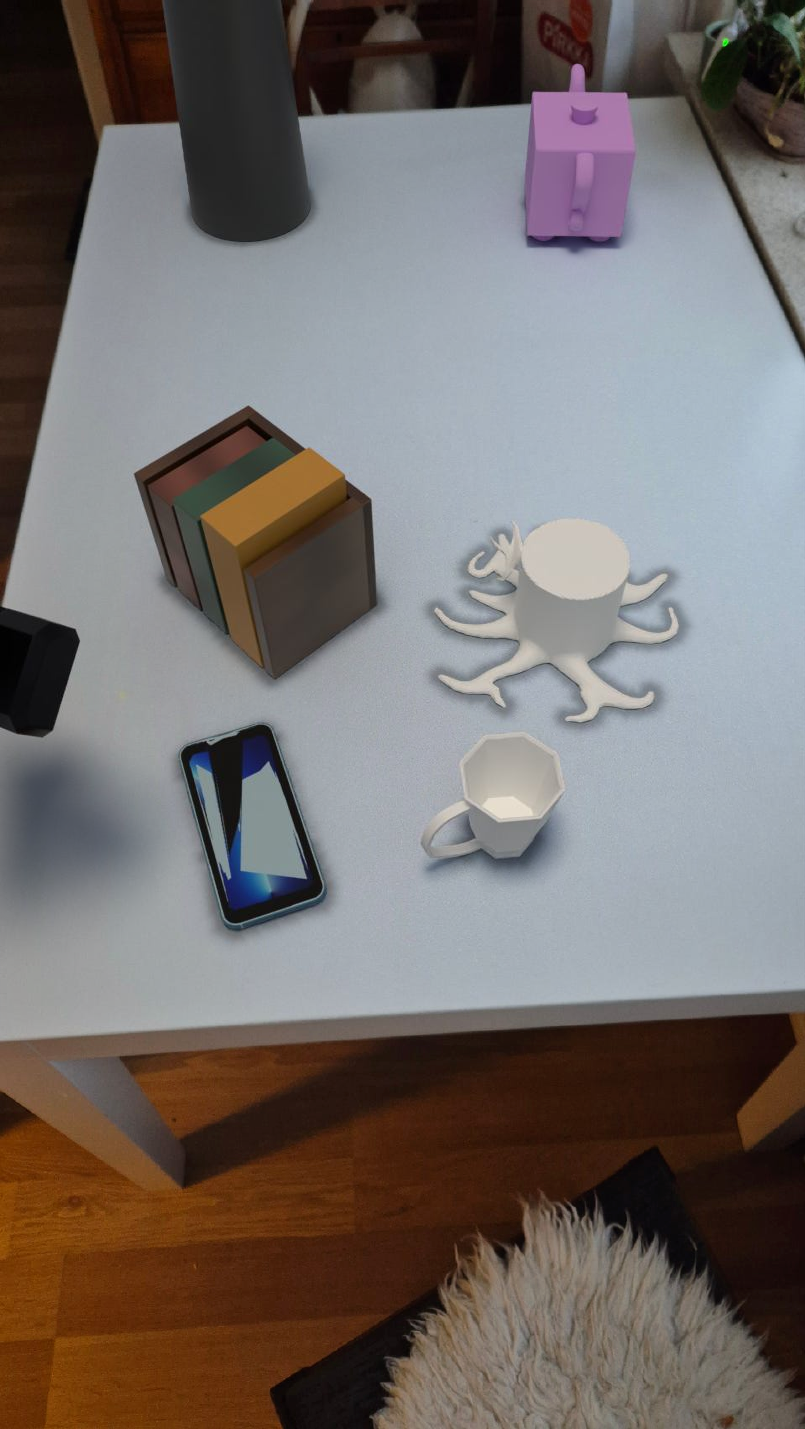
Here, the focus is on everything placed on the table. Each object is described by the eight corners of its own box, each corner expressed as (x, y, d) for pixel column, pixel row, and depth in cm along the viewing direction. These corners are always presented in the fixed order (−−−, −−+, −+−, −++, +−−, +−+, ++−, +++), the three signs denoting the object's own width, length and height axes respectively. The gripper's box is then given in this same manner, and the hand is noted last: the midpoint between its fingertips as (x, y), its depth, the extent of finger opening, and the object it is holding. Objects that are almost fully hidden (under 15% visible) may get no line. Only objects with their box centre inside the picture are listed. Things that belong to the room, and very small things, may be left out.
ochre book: (262, 668, 80) (234, 546, 68) (231, 639, 82) (199, 515, 70) (355, 600, 84) (345, 474, 72) (324, 574, 85) (309, 446, 74)
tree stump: (521, 505, 89) (529, 433, 83) (722, 601, 83) (749, 532, 76) (389, 654, 80) (386, 587, 74) (602, 774, 74) (621, 714, 67)
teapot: (620, 264, 109) (641, 145, 99) (526, 262, 109) (537, 144, 99) (607, 165, 120) (626, 49, 110) (522, 164, 120) (532, 48, 110)
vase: (208, 172, 120) (155, -131, 96) (320, 179, 119) (295, -126, 95) (178, 237, 113) (113, -73, 89) (297, 245, 112) (264, -67, 88)
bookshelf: (274, 679, 79) (251, 569, 68) (166, 579, 85) (129, 463, 74) (377, 604, 83) (371, 488, 72) (267, 513, 89) (246, 394, 78)
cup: (572, 849, 71) (588, 794, 64) (448, 913, 68) (451, 862, 62) (519, 773, 74) (529, 713, 68) (399, 831, 72) (397, 775, 65)
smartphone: (224, 930, 67) (174, 747, 75) (226, 935, 68) (177, 753, 75) (330, 895, 68) (270, 718, 76) (331, 900, 69) (272, 725, 77)
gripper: (-332, 717, 55) (-89, 744, 69) (-110, 825, 47) (114, 830, 61) (-273, 522, 55) (-42, 588, 69) (-41, 597, 47) (167, 654, 61)
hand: (42, 665), depth 65 cm, fingers closed
